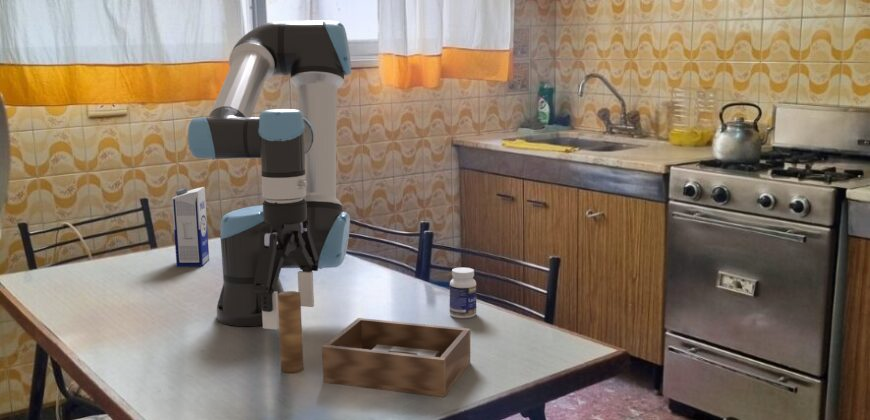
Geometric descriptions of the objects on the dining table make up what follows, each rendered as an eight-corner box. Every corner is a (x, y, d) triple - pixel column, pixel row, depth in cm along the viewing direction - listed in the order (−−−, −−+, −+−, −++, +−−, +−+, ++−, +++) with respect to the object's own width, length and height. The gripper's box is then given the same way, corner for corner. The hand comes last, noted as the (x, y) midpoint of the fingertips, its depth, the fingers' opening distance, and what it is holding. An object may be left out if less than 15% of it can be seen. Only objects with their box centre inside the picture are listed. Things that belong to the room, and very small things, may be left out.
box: (323, 382, 154) (321, 346, 152) (359, 350, 169) (358, 317, 167) (444, 397, 147) (443, 360, 146) (470, 362, 162) (470, 328, 161)
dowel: (277, 371, 159) (273, 296, 156) (287, 363, 162) (284, 290, 160) (297, 374, 157) (293, 298, 155) (307, 366, 161) (304, 292, 158)
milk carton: (202, 266, 229) (197, 190, 225) (176, 266, 229) (170, 190, 225) (209, 259, 236) (204, 185, 232) (184, 259, 236) (179, 185, 232)
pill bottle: (474, 320, 186) (474, 274, 183) (447, 318, 187) (446, 272, 185) (478, 311, 191) (478, 266, 189) (452, 310, 192) (452, 265, 190)
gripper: (268, 213, 141) (274, 340, 145) (334, 188, 164) (337, 299, 168) (227, 211, 143) (234, 336, 147) (297, 187, 166) (302, 296, 170)
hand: (289, 317), depth 157 cm, fingers open, 13 cm apart
